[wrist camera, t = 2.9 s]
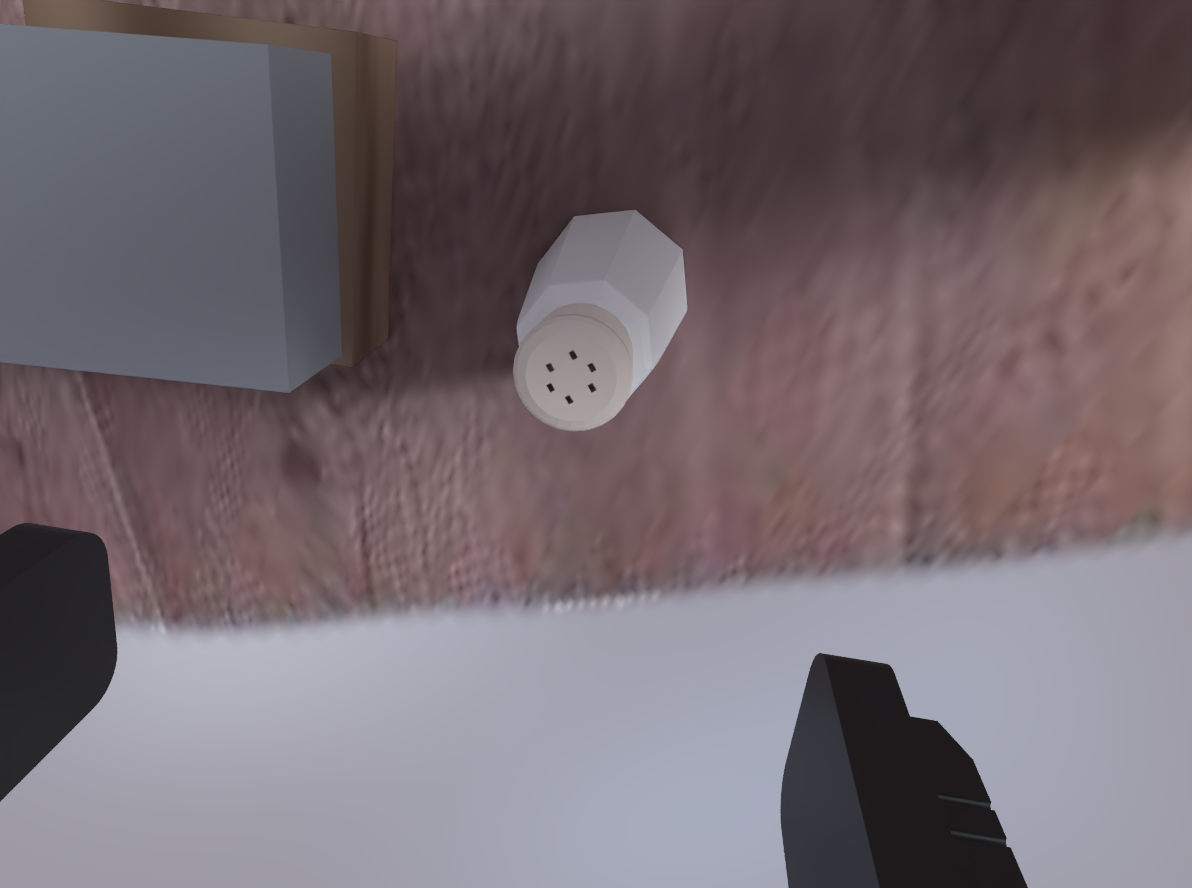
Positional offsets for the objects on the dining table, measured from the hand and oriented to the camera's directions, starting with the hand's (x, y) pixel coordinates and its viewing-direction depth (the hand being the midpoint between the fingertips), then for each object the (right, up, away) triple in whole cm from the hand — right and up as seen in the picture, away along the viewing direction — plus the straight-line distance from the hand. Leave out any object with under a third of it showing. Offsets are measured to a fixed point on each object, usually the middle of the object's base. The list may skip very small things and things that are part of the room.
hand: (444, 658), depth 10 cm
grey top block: (-11, +10, +17) cm, 23 cm away
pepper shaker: (+2, +8, +21) cm, 22 cm away
